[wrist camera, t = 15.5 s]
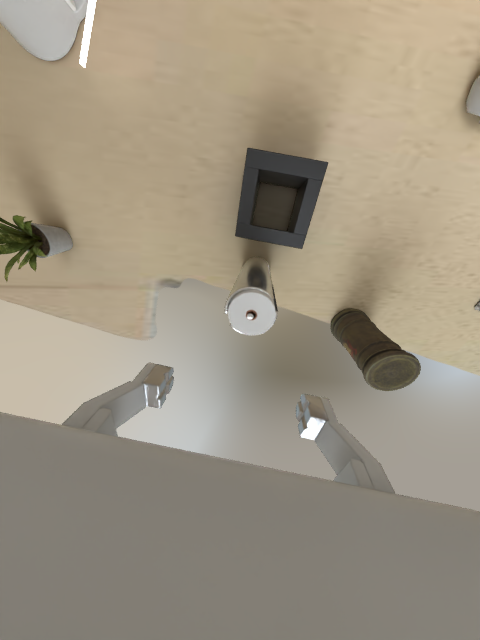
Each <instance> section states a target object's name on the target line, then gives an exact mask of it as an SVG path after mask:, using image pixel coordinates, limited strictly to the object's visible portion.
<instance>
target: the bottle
mask: <svg viewBox="0 0 480 640" xmlns="http://www.w3.org/2000/svg"><path fill="white" fill-rule="evenodd" d="M466 106H467V113H472V114H474V115H477V116H480V75H479V76H478V77H477V79H476V80H475V81H474V83H473V85H472V87H471V90H470V92H469V95H468V98H467V101H466ZM479 123H480V122H479Z"/></svg>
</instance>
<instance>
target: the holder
mask: <svg viewBox="0 0 480 640" xmlns="http://www.w3.org/2000/svg"><path fill="white" fill-rule="evenodd" d="M327 165H328V162H324V161H319V160H313V159H308V158H302V157H297V156H291V155H285V154H280V153H274V152H269V151H263V150H258V149H252V148H247V155H246V162H245V169H244V176H243V183H242V191H241V198H240V205H239V212H238V219H237V226H236V233H235V236H236V237H242V238H247V239H252V240H257V241H263V242H268V243H273V244H278V245H284V246H289V247H294V248H300V249H302V248H303V244H304V241H305V238H306V234H307V231H308V228H309V225H310V221H311V218H312V215H313V211H314V208H315V205H316V202H317V198H318V195H319V192H320V188H321V185H322V182H323V179H324V175H325V172H326V169H327ZM260 182H263V183H268V184H274V185H279V186H284V187H290V188H295V189H298V191H297V195H296V199H295V203H294V207H293V211H292V215H291V218H290V222H289V226H288V230H287V232H286V231H280V230H275V229H270V228H264V227H259V226H254V225H252V223H253V217H254V211H255V205H256V200H257V194H258V188H259V183H260Z"/></svg>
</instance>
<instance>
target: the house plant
mask: <svg viewBox="0 0 480 640" xmlns="http://www.w3.org/2000/svg"><path fill="white" fill-rule="evenodd" d="M24 218H25V217H22V216H18V215H16V216H13V221H14V222H15V224H16V225H17V226H15V225H13V224H11V223H9V222H7V221H5V220H4V219H2V218H0V221H1V222H2V223H5V224H7V225H9V226H12V227H14V228H16V229H14V228H12V227H9V226H7V225H4V224H2V223H0V244H3V245H0V254H10V253H14V252H17V251H20V250H21V251H20V252H19V253H18V254H17V255H15V256H14V257H13V258H12V259H11V260H10V261H9V262H8V264H7V266H6V268H5V279H6V281H7V278H8V274H9V271H10V269H11V268H12V266H13V265H14V263H15V262H16V261H17V260H18V261H17V262H18V263H19V259H20V257H21V256H22V255H23V254H24V253H25V252H26V251H29V252H28V253H27V254H26V256H25V257H24V259H23V260H22V262H21V263H20V265H19V269H20V268H21V267H22V266H23V265H25V264H26V263H27V262H28V261H29V264H30V266H31V268H32V269H33V270H35V271H36V257H40V258H46V257H49V256H52V255H55V254H58V253H61V252H64V251H67V250H70V249H71V248H72V246H73V243H72V239H71V236H70V235H69V234H68V232H67V231H65V230H64V229H62V228H59V227H53V226H47V225H42V224H36V223H31V221H27V222H23V220H24ZM17 229H18V230H17ZM29 259H30V260H29Z"/></svg>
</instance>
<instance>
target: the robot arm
mask: <svg viewBox="0 0 480 640" xmlns="http://www.w3.org/2000/svg"><path fill="white" fill-rule="evenodd" d="M95 4H96V0H0V23H1V24H2V25H3V26H4V27H5V28H6V29H7V31H8V32H9V33H10V34H11V35H12V36H13V37H14V38H15V40H16V41H17V42H18V43H19V44H20V45H21V46H22V47H23V48H24V49H25V50H27V51H28V52H29V53H31V54H32V55H34V56H35V57H37V58H40V59H43V60H47V61H54V60H58V59H60V58H62V57H64V56H65V55H66V54H67V53H68V52H69V50H70V49H71V47H72V45H73V43H74V41H75V38H76V34H77V31H78V27H79V24H80V22H81V21H82V20H83V19H84V18H85V17H86V22H85V29H84V35H83V42H82V48H81V55H80V62H79V63H80V64H81V65H82V66H83V67H85V66H86V59H87V53H88V47H89V41H90V35H91V29H92V23H93V16H94V10H95ZM173 372H174V370H173V368H172V367H168V366H163V365H159V364H154V363H148V364H147V365H146V366H145V367H144V368H143V369H142V370H141V372H140V373H139V374H138V375H137V376H136V378H135V379H134V380H133V381H132V382H131V381H129V382H127V383H125V384H123V385H121V386H118V387H116V388H114V389H112V390H110V391H108V392H106V393H104V394H102V395H100V396H97V397H95V398H93V399H91V400H89V401H87V402H85V403H83V404H82V405H81V406H80V407H79V408H78V409H77V410H76V411H75V412H74V413H73V414H72V415H71V416H70V417H69V418H68V419H67V420H66V421H65V422H64V423H63V424H62V425H59V424H55V423H50V422H45V421H40V420H36V419H30V418H25V417H21V416H16V415H11V414H7V413H2V412H0V640H480V512H479V511H475V510H472V509H467V508H462V507H457V506H453V505H448V504H442V503H438V502H433V501H428V500H423V499H418V498H413V497H409V496H404V495H399V494H395V492H394V490H393V488H392V486H391V484H390V482H389V480H388V478H387V476H386V474H385V472H384V470H383V468H382V466H381V464H380V463H379V462H378V461H377V460H376V459H375V458H374V457H373V456H372V455H371V454H370V453H369V452H368V451H367V450H366V449H365V448H364V447H363V446H362V445H361V444H360V443H359V441H358V440H356V439H355V437H354V436H353V435H352V434H351V433H349V431H348V430H347V429H346V428H345V427H344V426H343V425H342V424H339V423H338V420H337V418H336V415H335V413H334V411H333V408H332V406H331V403H330V401H329V399H328V398H324V397H318V396H314V395H308V394H302V395H301V397H300V399H301V401H300V402H298V404H297V406H296V418H297V419H298V421H299V422H300V423H299V425H298V428H299V433H300V437H303V438H307V439H312V440H315V442H316V444H317V446H318V447H319V449H320V450H321V452H322V453H323V454H324V456H325V458H326V459H327V461H328V462H329V464H330V465H331V467H332V468H333V469H334V471H335V473H336V474H337V476H336V477H335V479H334V480H333V481H331V480H326V479H321V478H317V477H312V476H307V475H301V474H297V473H292V472H287V471H282V470H278V469H273V468H268V467H263V466H258V465H253V464H249V463H244V462H239V461H234V460H229V459H224V458H219V457H215V456H210V455H205V454H200V453H195V452H190V451H185V450H181V449H176V448H170V447H166V446H161V445H156V444H152V443H147V442H142V441H137V440H132V439H127V438H122V437H118V435H117V432H116V428H118V427H119V426H120V425H122V424H123V423H125V422H126V421H127V420H129V419H130V418H132V417H133V416H134V415H136V414H137V413H138V412H140V411H141V410H143V409H144V408H145V407H146V406H150V407H155V408H161V407H162V405H163V403H164V401H165V400H166V394H168V393H169V392H170V390H171V388H172V386H173V380H174V377H173V376H172V374H173Z"/></svg>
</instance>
